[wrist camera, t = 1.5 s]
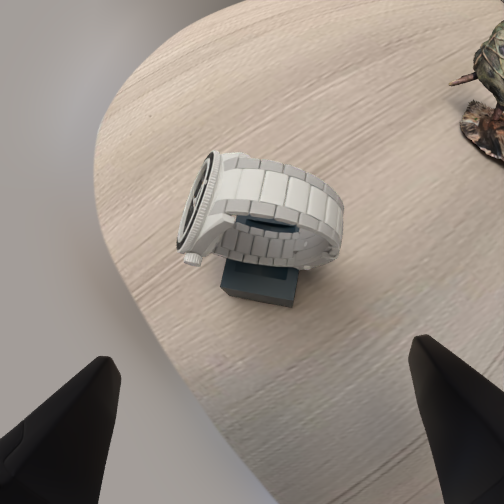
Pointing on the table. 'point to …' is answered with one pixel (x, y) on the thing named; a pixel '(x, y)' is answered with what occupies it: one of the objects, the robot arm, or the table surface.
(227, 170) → the watch
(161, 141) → the table surface
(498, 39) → the plant with pod
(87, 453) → the robot arm
